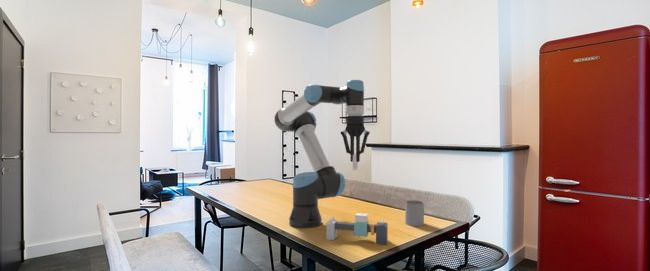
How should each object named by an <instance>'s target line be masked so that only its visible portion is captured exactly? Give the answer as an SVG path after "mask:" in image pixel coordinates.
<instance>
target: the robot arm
mask: <svg viewBox="0 0 650 271" xmlns="http://www.w3.org/2000/svg"><path fill="white" fill-rule="evenodd" d="M364 95H365V86H364V81H363V80H360V79H349V80H347V81H346V86H341V87H339V86H329V85H319V84H308V85H306V87H305V89H304V91H303V94H302V95H300V96H299V97H298V98H297V99H295V100H294V101H293V102H291V103H290V104H288V105H287V106H286V107H281V108H280V109H278V111H276V113H275V115H274V117H273V118H274V120H273V121H274V124H275V125H276V127H277V129H279V130H281V131H283V132H288V133H289V132H293V133H294V135H295V137H296V138H298V139H300V142H301V144H302V147H303V150H304V152H305V153H306V156H307V158H308V161H309V163H310V166H311V167H312V171H308V172H307V171H305V172H301V173H300V172H299V173H298V174H295V175H294V176H293V178H292V180H293V181H292V209H291V212H290V215H289V218H288V221H289V225H290V226H292V227H294V228H295V227H296V228H300V229H301V228H304V229H307V228H314V227H319V226H320V225H322V223H323V222H322V220H323V219H322V215H321V212H320V209H319V200H322V199H329V198H335V197H339V196H341V195H342V194H343V193H344V191H345V189H346V179H345V176H344V175H343V174H342V173H341V172H340V171H339V172H337V171H336V168H335V167H334V166H333V165H330V162H329V161H328V159H327V156H326V154H325V153H324V149H323V148H322V146H321V144H320V142H319V139H318V137H317V134H316V133H315V131H316V127H317V119H316V116H315V114H314V113H313V112H311V111H310V110H312V109H313V108H314V107H316V106H318V105H319V104H323V103H324V104H333V105H342V104H346V115H347V117H346V126H345V129H344V130H343V131H340V135H341V136H342V139H343V143H344V147H345V153H346V154H350V162H351V163H352V170H358V163H359V162H360V160H361V156H360V155H361V154H364V153H365V149H366V145H367V140H368V137H369V135H370V133H371V132H370V131H368V130H366V127H365V125H364V124H365V116H363V115H364V114H365V106H364V105H365V103H364V102H365V96H364ZM347 134H348V135H349V140H348V136H347ZM362 134H363V135H364V136H363V138H362V139H363V140H362V141H361V137H362ZM348 141H349V142H348ZM361 142H362V143H361ZM360 145H361V146H360Z"/></svg>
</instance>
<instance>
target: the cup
mask: <svg viewBox="0 0 650 271" xmlns="http://www.w3.org/2000/svg"><path fill="white" fill-rule="evenodd" d="M404 203H405V205H404V206H405V219H404V220H405V221H404V223H405V224H406V225H408V226H411V227H422V226H424V225H425V202H423V201H421V200H412V199H411V200H406V201H405V202H404Z"/></svg>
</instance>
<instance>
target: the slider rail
mask: <svg viewBox="0 0 650 271" xmlns="http://www.w3.org/2000/svg"><path fill="white" fill-rule="evenodd" d="M388 225H389V224H388V222H385V221H384V220H379V221H377V222H375V221H372V222H371V224H367V232H369V233H370V236H375V244H376V245H382V246H383V245H385V246H387V244H388V241H389V240H388V239H389V238H388V237H389V236H388V229H389V226H388ZM338 231H348V232H349V231H351V232H354V222H344V221H338V219H335V216H332V217H331V218H330V219H329V220H328V221H327V223H326V240H327V241H328V240H329V241H335V239H336V238H337V237H338Z"/></svg>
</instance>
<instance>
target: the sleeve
mask: <svg viewBox="0 0 650 271" xmlns="http://www.w3.org/2000/svg"><path fill="white" fill-rule="evenodd" d="M368 217H369V214H368V213H360V212H356V213H355V215H354V222H353V223H354V231H353V236H355V237H365V238H367V237H368V235H369V234H370V232H367V224H369V221H370V220H369V218H368Z"/></svg>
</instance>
